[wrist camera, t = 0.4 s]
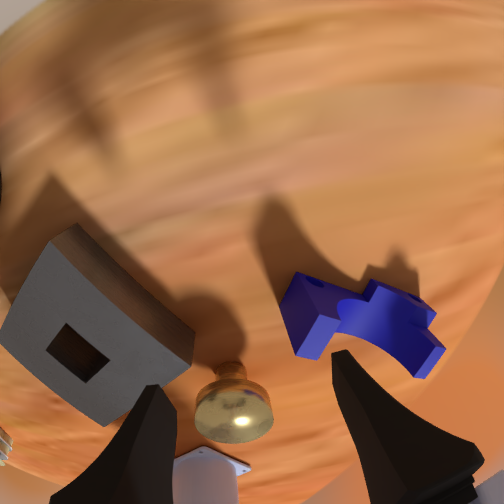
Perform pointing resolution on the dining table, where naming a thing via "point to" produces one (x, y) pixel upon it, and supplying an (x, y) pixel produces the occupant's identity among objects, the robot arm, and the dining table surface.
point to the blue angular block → (361, 321)
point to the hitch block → (93, 329)
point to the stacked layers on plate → (4, 446)
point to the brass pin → (233, 407)
